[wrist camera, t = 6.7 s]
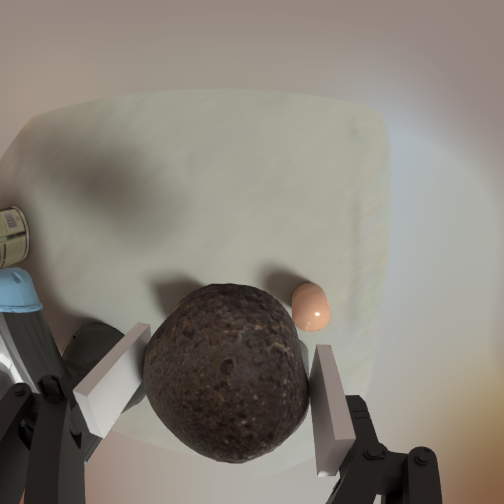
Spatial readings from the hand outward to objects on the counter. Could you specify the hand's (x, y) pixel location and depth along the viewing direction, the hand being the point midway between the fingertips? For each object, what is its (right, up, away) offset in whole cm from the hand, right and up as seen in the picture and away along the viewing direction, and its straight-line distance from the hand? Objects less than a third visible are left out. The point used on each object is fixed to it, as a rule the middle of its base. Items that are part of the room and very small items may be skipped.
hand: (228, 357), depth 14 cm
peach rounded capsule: (+8, 0, +18) cm, 20 cm away
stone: (0, 0, +1) cm, 1 cm away
